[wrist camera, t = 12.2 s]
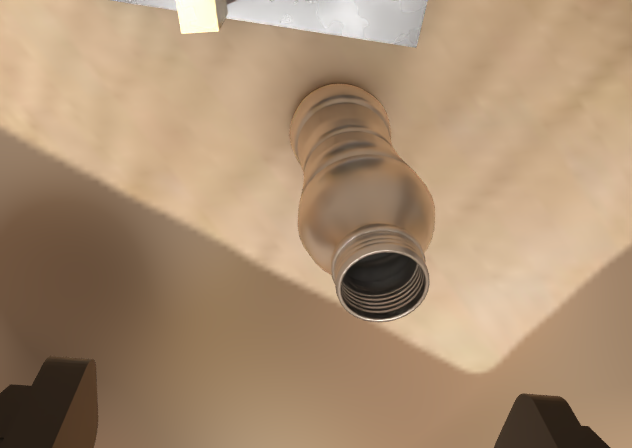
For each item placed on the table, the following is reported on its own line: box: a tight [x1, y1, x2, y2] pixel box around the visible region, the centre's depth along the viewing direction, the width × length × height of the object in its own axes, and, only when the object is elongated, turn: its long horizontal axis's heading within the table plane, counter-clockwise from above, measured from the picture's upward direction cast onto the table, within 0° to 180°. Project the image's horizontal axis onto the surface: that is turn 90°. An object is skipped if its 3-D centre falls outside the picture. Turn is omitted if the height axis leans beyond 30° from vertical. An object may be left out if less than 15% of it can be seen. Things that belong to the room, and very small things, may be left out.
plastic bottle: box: [290, 84, 435, 322], centre depth 30 cm, size 6×7×20 cm
